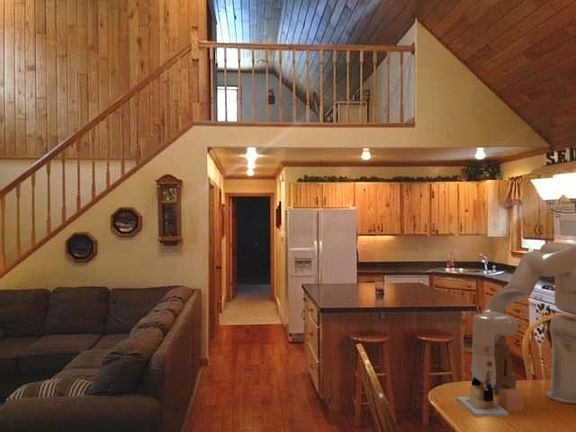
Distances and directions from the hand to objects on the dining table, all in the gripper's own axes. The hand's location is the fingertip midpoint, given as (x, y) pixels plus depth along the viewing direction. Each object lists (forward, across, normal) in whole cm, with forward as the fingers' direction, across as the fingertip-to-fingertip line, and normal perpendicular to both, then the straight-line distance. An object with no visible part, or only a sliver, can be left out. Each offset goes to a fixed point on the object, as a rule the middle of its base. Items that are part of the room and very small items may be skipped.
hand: (482, 396), depth 188 cm
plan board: (+4, 0, 0) cm, 4 cm away
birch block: (+3, 0, 0) cm, 3 cm away
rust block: (+4, -1, -10) cm, 11 cm away
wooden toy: (+4, +17, -14) cm, 22 cm away
